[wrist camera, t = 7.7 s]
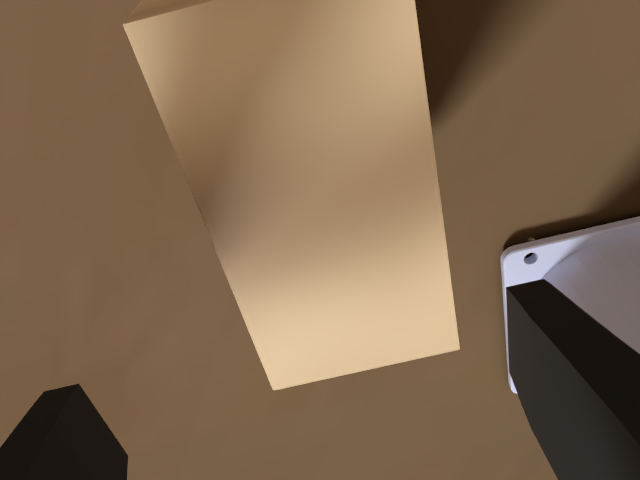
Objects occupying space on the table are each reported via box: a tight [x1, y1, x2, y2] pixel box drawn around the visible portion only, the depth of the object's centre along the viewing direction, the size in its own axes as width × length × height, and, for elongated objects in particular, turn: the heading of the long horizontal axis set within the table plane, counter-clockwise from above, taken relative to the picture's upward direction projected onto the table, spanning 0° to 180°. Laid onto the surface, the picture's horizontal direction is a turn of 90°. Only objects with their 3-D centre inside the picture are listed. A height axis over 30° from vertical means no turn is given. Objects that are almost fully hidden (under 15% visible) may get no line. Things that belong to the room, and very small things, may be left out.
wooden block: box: [123, 0, 460, 391], centre depth 13 cm, size 8×4×6 cm, turn 13°
